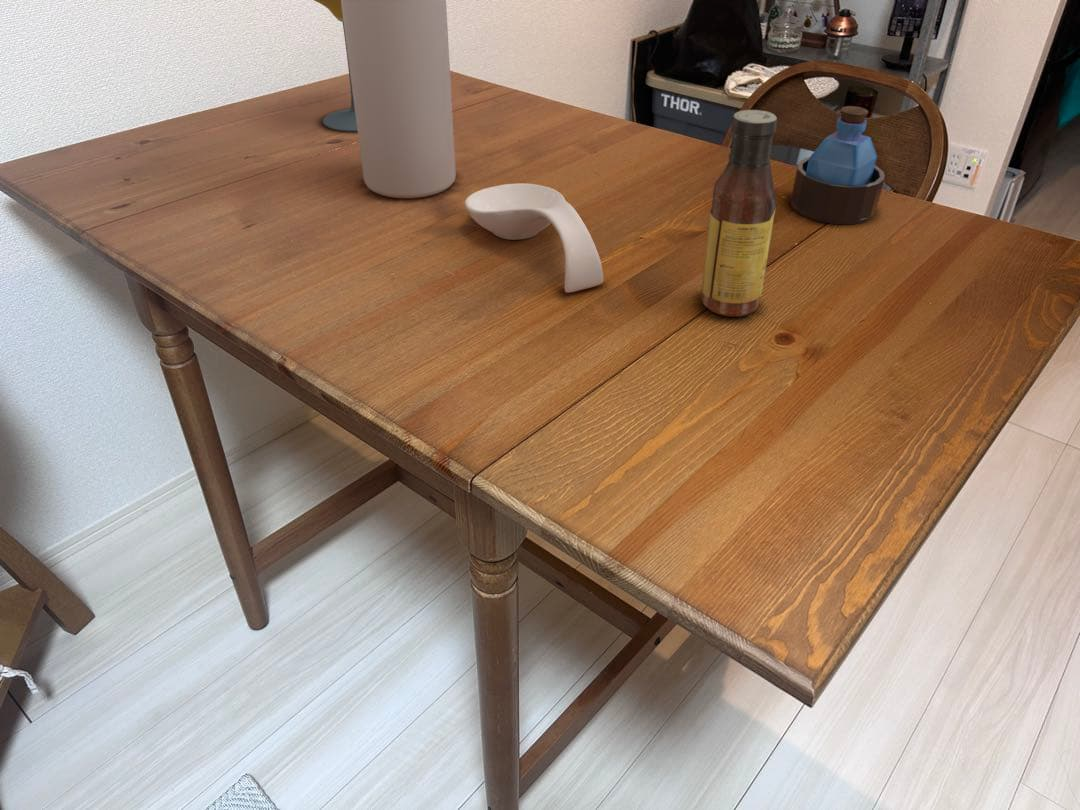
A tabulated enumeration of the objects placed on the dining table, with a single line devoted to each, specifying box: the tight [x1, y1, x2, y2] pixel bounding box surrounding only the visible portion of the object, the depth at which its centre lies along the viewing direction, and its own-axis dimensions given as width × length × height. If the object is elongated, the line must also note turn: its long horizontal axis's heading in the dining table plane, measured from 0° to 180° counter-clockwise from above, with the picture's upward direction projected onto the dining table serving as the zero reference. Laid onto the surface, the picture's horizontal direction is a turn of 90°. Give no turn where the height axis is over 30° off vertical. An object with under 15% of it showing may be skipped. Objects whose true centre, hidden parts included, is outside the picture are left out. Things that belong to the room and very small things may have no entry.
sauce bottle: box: [700, 109, 778, 318], centre depth 81 cm, size 6×6×20 cm
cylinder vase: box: [341, 0, 457, 199], centre depth 104 cm, size 12×12×25 cm
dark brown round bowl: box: [789, 156, 886, 226], centre depth 105 cm, size 11×11×5 cm
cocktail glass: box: [313, 0, 358, 133], centre depth 124 cm, size 18×18×25 cm
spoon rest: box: [464, 182, 604, 294], centre depth 94 cm, size 24×12×7 cm, turn 28°
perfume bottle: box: [806, 105, 878, 185], centre depth 103 cm, size 6×6×12 cm
